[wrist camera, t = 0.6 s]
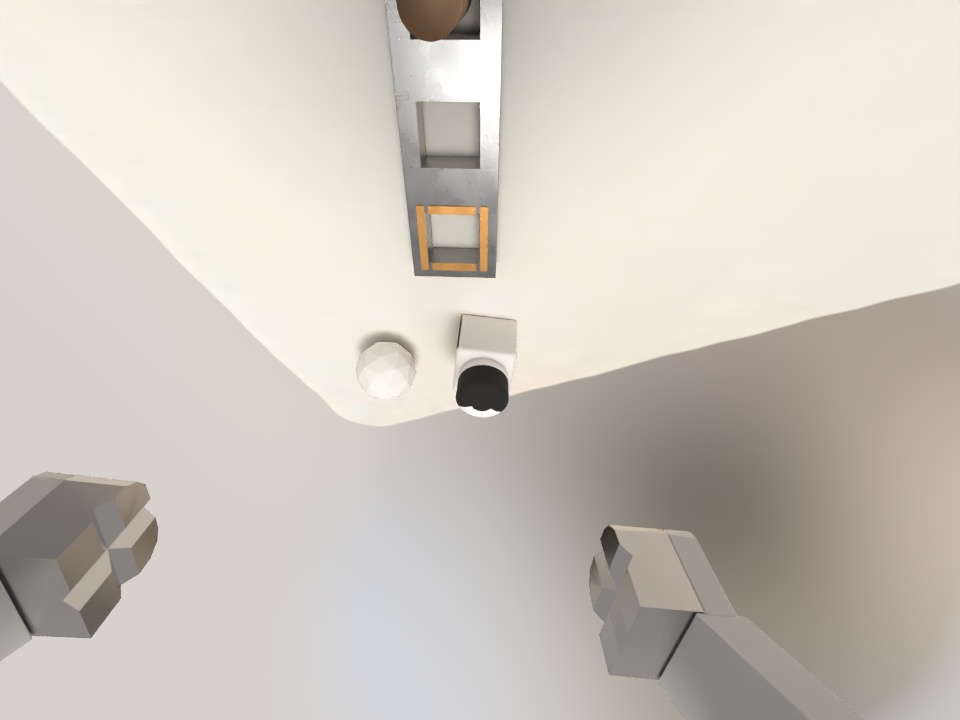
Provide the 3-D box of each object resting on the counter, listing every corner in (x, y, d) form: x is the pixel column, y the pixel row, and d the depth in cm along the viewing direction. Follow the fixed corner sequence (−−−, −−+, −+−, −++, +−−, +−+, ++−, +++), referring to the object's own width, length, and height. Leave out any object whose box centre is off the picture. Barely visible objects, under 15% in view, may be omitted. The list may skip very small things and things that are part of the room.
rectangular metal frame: (385, -85, 34) (374, -89, 32) (505, -85, 34) (504, -89, 31) (419, 260, 53) (414, 276, 51) (496, 262, 53) (495, 278, 50)
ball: (410, 341, 65) (434, 386, 62) (364, 372, 66) (386, 417, 62) (385, 320, 58) (412, 369, 55) (335, 355, 59) (358, 405, 56)
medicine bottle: (461, 313, 58) (452, 377, 49) (516, 319, 58) (518, 385, 49) (457, 355, 63) (448, 421, 54) (508, 360, 63) (508, 427, 54)
